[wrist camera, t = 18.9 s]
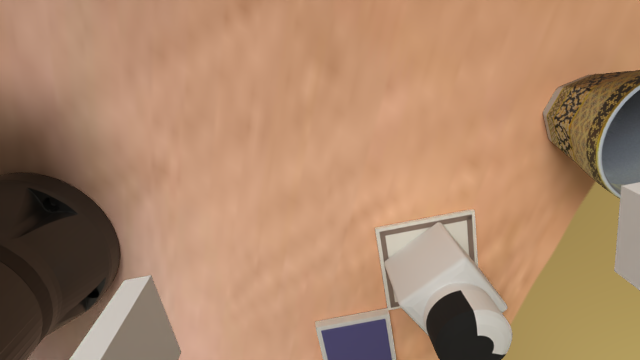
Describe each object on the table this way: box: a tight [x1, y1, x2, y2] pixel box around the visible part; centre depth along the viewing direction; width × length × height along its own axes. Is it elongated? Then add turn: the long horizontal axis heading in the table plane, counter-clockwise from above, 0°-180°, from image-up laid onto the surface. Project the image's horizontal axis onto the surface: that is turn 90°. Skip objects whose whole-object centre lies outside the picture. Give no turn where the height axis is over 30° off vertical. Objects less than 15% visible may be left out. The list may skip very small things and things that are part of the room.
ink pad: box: [315, 308, 396, 360], centre depth 45 cm, size 8×8×1 cm
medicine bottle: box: [384, 222, 512, 360], centre depth 37 cm, size 7×7×12 cm
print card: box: [375, 209, 478, 310], centre depth 42 cm, size 10×10×1 cm
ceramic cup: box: [543, 70, 640, 198], centre depth 33 cm, size 13×10×10 cm
